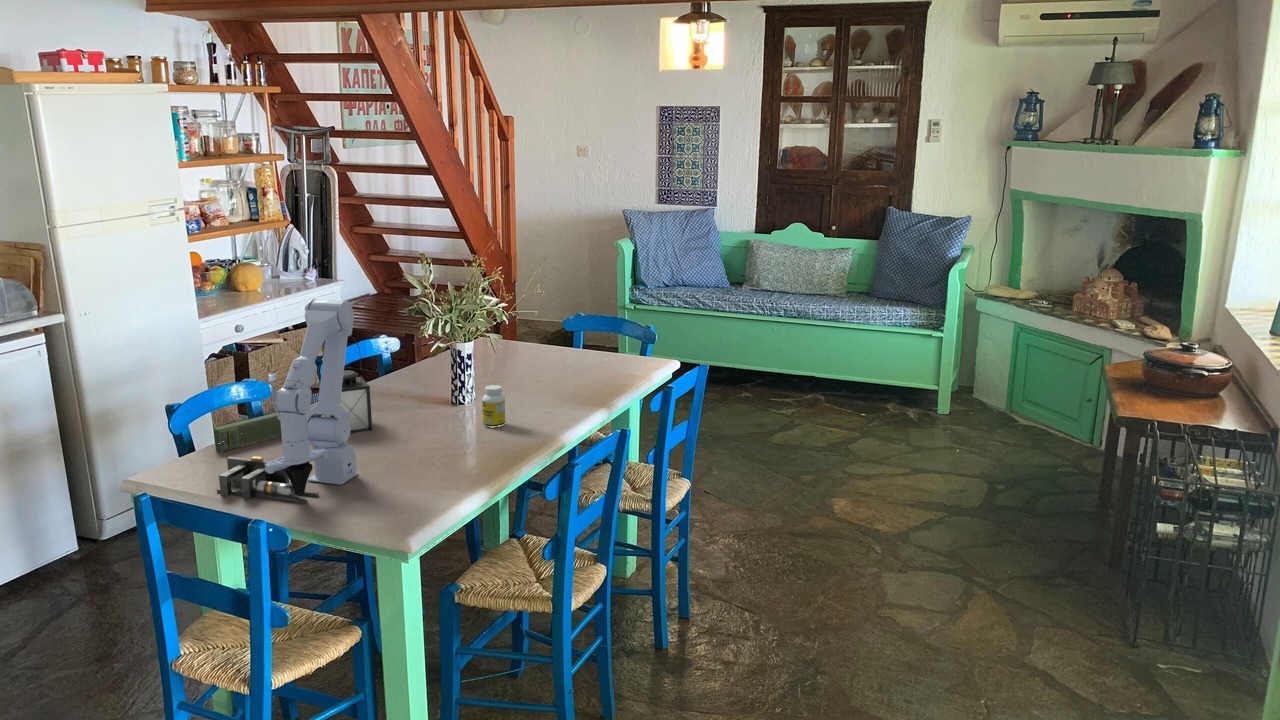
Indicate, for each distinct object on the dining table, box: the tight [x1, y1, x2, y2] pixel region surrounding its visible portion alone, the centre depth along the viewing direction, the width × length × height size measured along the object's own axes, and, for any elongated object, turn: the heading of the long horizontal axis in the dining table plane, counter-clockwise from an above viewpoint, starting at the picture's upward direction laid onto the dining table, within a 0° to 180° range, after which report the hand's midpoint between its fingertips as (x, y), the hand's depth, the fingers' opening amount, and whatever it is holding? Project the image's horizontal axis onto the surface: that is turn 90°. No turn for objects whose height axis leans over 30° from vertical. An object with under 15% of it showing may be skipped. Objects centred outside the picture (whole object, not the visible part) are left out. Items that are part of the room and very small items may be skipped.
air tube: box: [253, 479, 297, 498], centre depth 221 cm, size 12×3×3 cm, turn 73°
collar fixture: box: [216, 455, 320, 505], centre depth 222 cm, size 26×9×7 cm, turn 75°
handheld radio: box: [213, 412, 282, 452], centre depth 259 cm, size 7×3×25 cm
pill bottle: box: [481, 384, 506, 427], centre depth 273 cm, size 6×6×12 cm
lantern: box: [324, 334, 373, 434], centre depth 268 cm, size 11×11×28 cm
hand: (299, 494), depth 219 cm, fingers closed
